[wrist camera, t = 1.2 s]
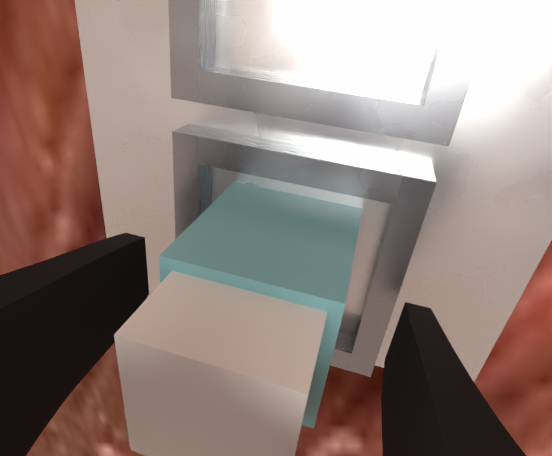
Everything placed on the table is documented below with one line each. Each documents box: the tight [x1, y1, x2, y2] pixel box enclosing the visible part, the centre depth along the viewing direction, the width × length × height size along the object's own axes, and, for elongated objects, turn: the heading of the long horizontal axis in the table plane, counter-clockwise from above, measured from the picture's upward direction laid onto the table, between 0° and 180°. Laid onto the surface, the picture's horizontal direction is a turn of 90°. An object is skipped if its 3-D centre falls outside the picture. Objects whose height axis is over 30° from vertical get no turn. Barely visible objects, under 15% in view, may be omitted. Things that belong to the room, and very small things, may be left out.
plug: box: [114, 181, 362, 456], centre depth 10 cm, size 4×4×6 cm
